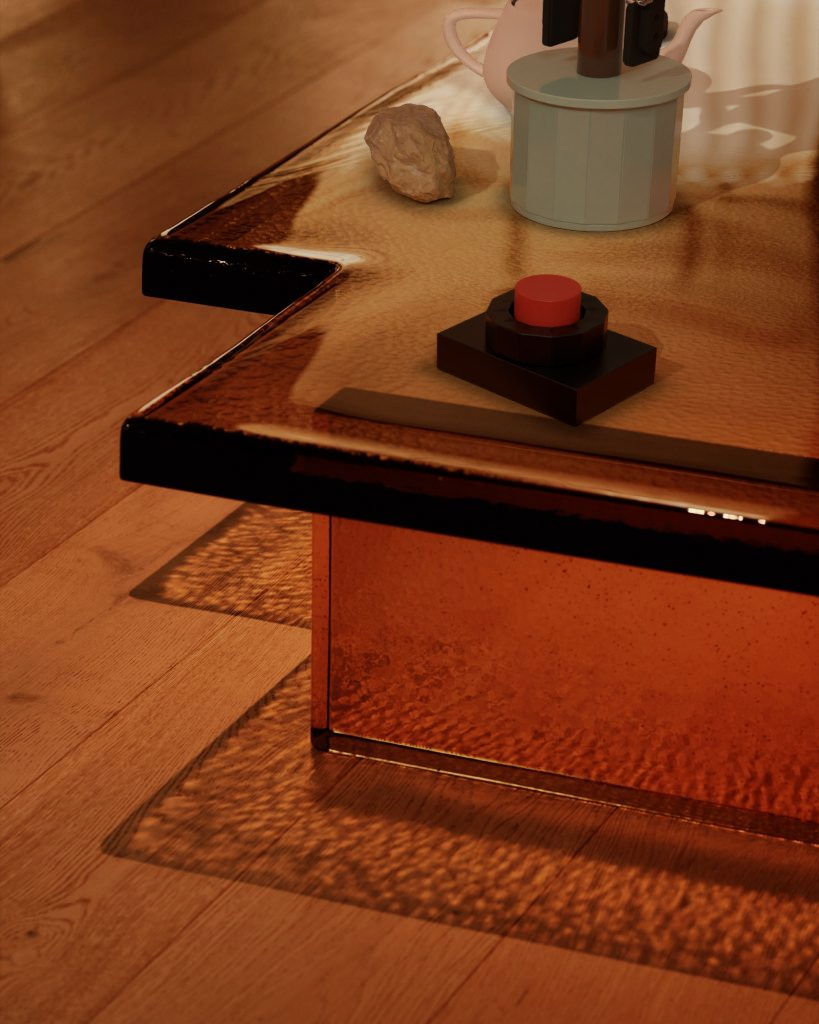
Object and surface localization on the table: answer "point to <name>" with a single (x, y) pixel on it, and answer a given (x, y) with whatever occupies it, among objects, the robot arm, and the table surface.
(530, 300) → the button
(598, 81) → the lid
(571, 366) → the button block
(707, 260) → the table surface
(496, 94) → the teapot
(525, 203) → the jar
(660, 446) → the table surface
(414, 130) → the stone tool
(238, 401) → the table surface
